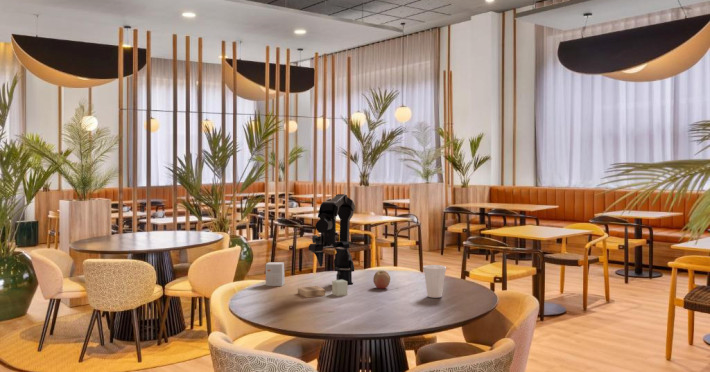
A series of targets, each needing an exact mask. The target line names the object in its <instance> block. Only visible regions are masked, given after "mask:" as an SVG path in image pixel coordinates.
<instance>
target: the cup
mask: <svg viewBox="0 0 710 372" xmlns="http://www.w3.org/2000/svg"><path fill="white" fill-rule="evenodd" d="M422 270H423V273H424V279H425V286H426V294H427V295H426V296H427V297H429V298H433V299H434V298H435V299H437V298H441V297H443V290H444V283H445V276H446V272H447V266H445V265H441V264H426V265H423V266H422Z"/></svg>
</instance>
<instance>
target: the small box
mask: <svg viewBox="0 0 710 372" xmlns="http://www.w3.org/2000/svg"><path fill="white" fill-rule="evenodd" d="M284 285H285V262H283V261H282V262H280V261H277V262H276V261H275V262H273V261H272V262H270V261H269V262H266V264H265V286H266V287H283V286H284Z"/></svg>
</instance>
